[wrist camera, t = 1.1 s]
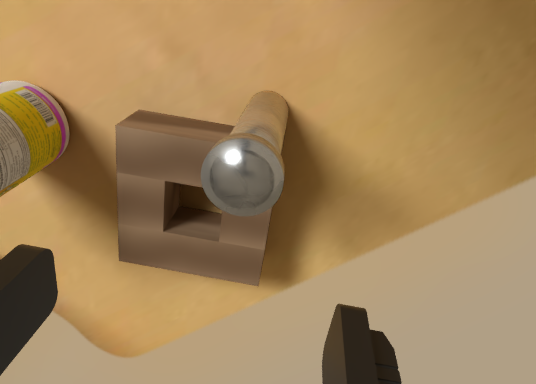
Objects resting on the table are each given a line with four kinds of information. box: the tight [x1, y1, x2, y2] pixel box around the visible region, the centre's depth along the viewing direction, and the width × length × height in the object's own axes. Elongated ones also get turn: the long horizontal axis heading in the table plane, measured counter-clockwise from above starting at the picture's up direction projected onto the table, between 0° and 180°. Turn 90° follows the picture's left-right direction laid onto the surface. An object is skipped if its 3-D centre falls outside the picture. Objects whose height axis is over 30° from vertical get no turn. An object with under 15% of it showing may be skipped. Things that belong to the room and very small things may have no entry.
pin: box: [201, 91, 289, 216], centre depth 24 cm, size 4×4×12 cm
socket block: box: [116, 110, 285, 286], centre depth 30 cm, size 11×11×4 cm
